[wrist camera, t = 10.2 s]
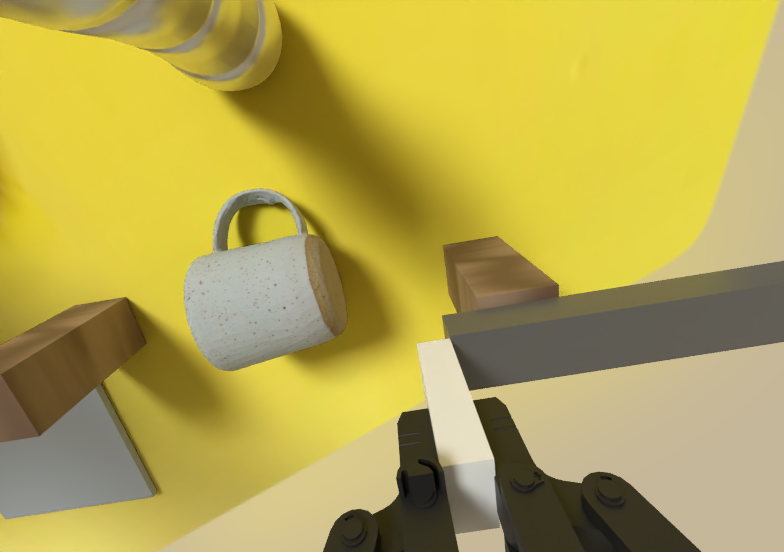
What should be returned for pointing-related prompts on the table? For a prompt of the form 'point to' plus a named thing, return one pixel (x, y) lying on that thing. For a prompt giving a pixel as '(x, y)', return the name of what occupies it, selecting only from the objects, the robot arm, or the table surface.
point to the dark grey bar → (619, 326)
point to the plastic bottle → (174, 32)
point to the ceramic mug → (263, 292)
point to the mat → (73, 463)
